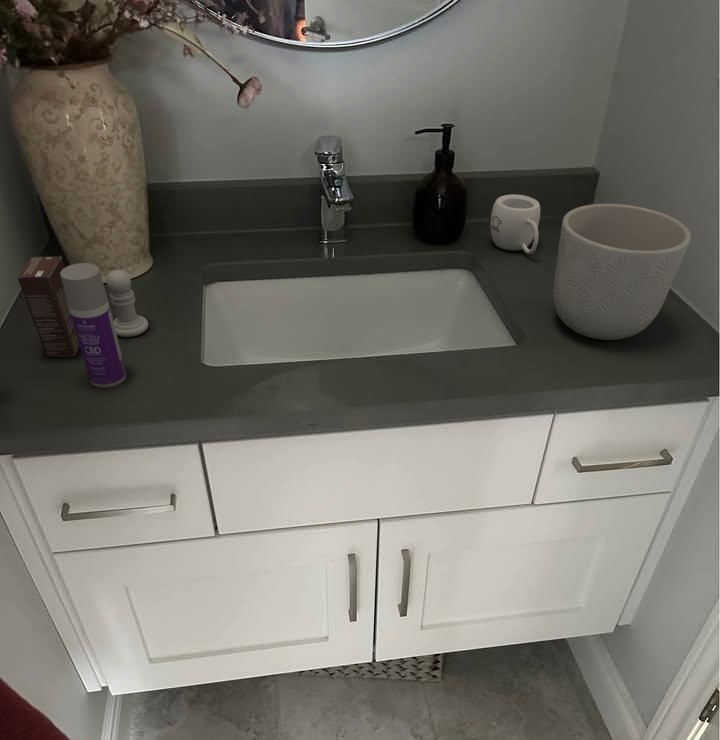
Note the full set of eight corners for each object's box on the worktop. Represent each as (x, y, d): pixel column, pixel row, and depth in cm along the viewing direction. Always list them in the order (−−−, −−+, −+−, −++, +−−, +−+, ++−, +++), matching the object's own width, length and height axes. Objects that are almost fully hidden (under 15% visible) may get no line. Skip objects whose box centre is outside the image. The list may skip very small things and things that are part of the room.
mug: (478, 238, 128) (484, 195, 123) (518, 233, 130) (526, 190, 125) (511, 266, 120) (519, 220, 114) (553, 259, 122) (563, 214, 117)
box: (55, 335, 100) (30, 255, 92) (87, 335, 100) (65, 255, 92) (42, 358, 95) (15, 275, 87) (75, 358, 95) (51, 276, 87)
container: (92, 390, 90) (61, 282, 80) (87, 372, 93) (56, 266, 83) (129, 383, 91) (103, 276, 81) (123, 365, 94) (97, 260, 84)
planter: (565, 358, 98) (592, 255, 87) (526, 301, 110) (545, 205, 100) (677, 351, 100) (716, 249, 89) (626, 296, 112) (655, 200, 102)
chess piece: (121, 342, 99) (107, 283, 93) (105, 327, 102) (90, 269, 96) (155, 330, 101) (143, 272, 95) (138, 316, 104) (126, 259, 98)
